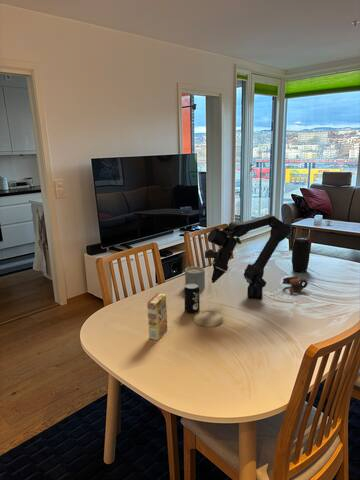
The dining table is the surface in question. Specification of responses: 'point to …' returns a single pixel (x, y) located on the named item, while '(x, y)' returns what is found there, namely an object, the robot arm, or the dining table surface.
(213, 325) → the disc
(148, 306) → the candy box
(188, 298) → the beverage can
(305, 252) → the portable speaker
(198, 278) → the coffee mug
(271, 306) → the dining table surface
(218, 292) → the dining table surface
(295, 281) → the pottery mug
